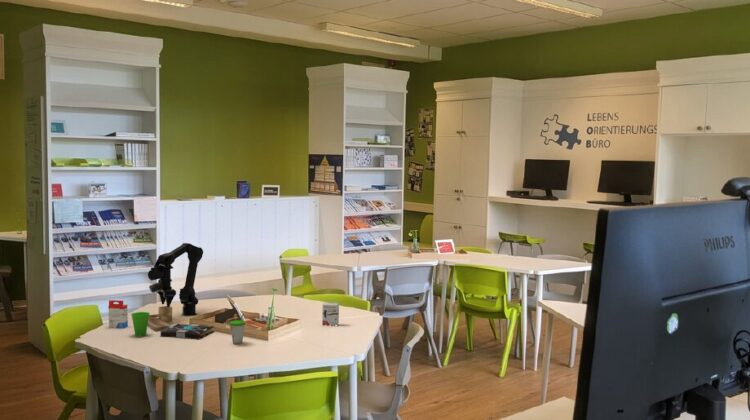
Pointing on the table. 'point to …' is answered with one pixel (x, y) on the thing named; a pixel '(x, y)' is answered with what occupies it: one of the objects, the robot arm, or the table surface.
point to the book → (187, 331)
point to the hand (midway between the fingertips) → (165, 305)
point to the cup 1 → (140, 322)
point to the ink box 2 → (330, 314)
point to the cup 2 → (237, 330)
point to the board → (157, 324)
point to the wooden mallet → (164, 314)
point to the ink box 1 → (118, 314)
